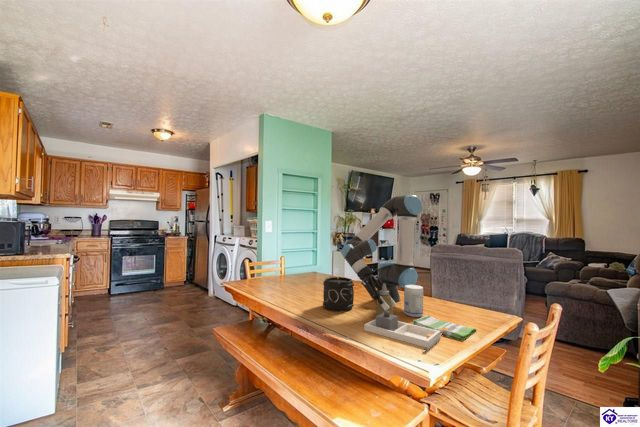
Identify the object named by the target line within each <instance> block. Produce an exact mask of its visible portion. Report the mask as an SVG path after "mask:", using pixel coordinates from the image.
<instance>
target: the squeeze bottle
mask: <svg viewBox="0 0 640 427" xmlns="http://www.w3.org/2000/svg"><path fill="white" fill-rule="evenodd" d="M379 294H380V295H379V296H381V297H382V298H383V299H384V301H385V302H386V303H387V304H388V306H389V307H390V308H389V309H387V310H386V311H390V314H392V315H394V312H393V308H392V302H391V296H390V295H389V291H388V290H387V288H386V284H385V283H383V286H382V290H380V291H379ZM375 308H376V309H375V314H376V316H378V315H380V314H382V313H384V311H385V310H384V309H383V307H382V306H381V305H380V303H379V302H378V301H377V300H376V307H375Z"/></svg>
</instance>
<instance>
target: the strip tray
mask: <svg viewBox="0 0 640 427" xmlns="http://www.w3.org/2000/svg"><path fill="white" fill-rule="evenodd" d="M363 330H364V331H366V332H370V333H372V334H377V335H380V336H384V337H388V338H390V339H394V340H398V341H400V342H404V343H409V344H412V345H415V346H418V347H419V346H420V347H422V348H423V350H424V351H430V349H432V348H433V347H434V346H435V345H436V344H437V343H439V342H440V341H441V333H440V331H438V330H433V329H429V328H425V327H421V326H417V325H413V323H407V322H404V321H399V320H398V329H397V330H395V331H391V330H387V329H383V328H380V327H376V318H375V319H372V320H371V321H368V322H366V323H364V327H363Z"/></svg>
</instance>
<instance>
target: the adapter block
mask: <svg viewBox="0 0 640 427" xmlns="http://www.w3.org/2000/svg"><path fill="white" fill-rule="evenodd" d="M398 317H399V316H398V315H395V314H390V311H384V313H382V314H380V315H378V316H377V315H376V316H375V319H376V327H380V328H383V329H387V330H391V331H395V330H397V329H398V321H399V318H398Z"/></svg>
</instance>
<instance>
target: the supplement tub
mask: <svg viewBox="0 0 640 427" xmlns="http://www.w3.org/2000/svg"><path fill="white" fill-rule="evenodd" d="M403 292H404V295H403V298H404V299H403V307H404V308H403V313H404V315H405V316H408V317H412V318H419V317H420V318H421V317H423V316H424V287H423V286H421V285H419V284H418V285H416V284H414V285H406V286H405V287H404V291H403Z"/></svg>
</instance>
